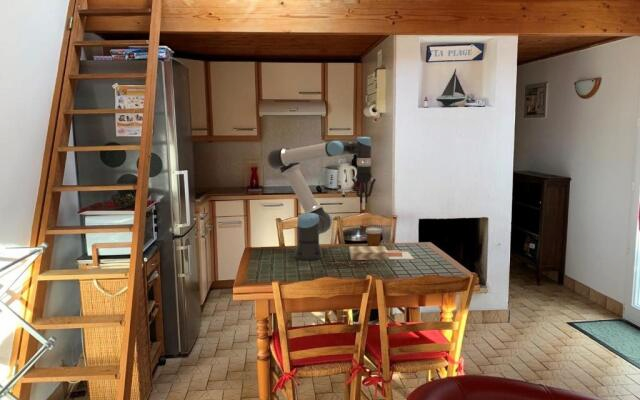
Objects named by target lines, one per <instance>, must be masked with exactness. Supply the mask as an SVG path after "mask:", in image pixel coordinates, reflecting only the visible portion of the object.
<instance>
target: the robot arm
mask: <svg viewBox="0 0 640 400" xmlns="http://www.w3.org/2000/svg"><path fill="white" fill-rule="evenodd" d="M343 155H345V156H346V155H355V156H356V165H357V167H356V175H355V177H353V178H352V179H351V181H352V182H353V186H354V189H355V190H354V191H355V193H356V196H357V197H359V203H360V204H361V210H363V211H365V210H366V204H367V203H368V197H371V195H372V192H373V187H374V185H375V183H376V178H374V177H372V167H371V165H372V138H371V136H370V137H369V136H357V138H356V140H345V139H342V140H332V141H329V142H323V143H318V144H312V145H308V146H307V145H306V146H302V147H295V148H290V147H283V148H274V149H272V150H271V151H269V153H268V154H267V157H266V160H267V164H268V165H269V167H271V168H272V169H274V170H279V171H280V172H281V174H282V175H283V176H284V177H285V176H286V179H287V181H288V182H289V184H290V186H291V189H292V190H293V191H294V192H293V193H294V194H295V196H296V197H297V199H298V201H299V203H300V206H301V207H302V209H303V211H304V213H302V214H300V215H299V216H298V217H297V244H296V248H295V250H294V258H295V259H297V260H301V261H315V260H319V259H322V258H323V251H322V249H321V245H320V235H321V234H324V233H326V232H327V231H329V230H330V229H331V227H332V224H333V219H332V216H331V215H330V214H329V213H328V212H326V211H325V210H324V208H323V206H322V205H321V206H320V205H319V204H318V202H317V201H316V199H315V196H314V195H313V192H312V191H311V188H310V187H309V184H308V183H307V181H306V179H305V177H304V175H303V173H302V172H301V170H300V167H301V164H300V163H301V162H306V161H307V162H308V161H313V160H318V159H325V158H332V157H337V156H343ZM357 181H358V182H359V188H358V184H357ZM369 182H370V185H369V188H368V184H369ZM363 187H364V188H363ZM363 189H364V192H363ZM363 193H364V195H363Z"/></svg>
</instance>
